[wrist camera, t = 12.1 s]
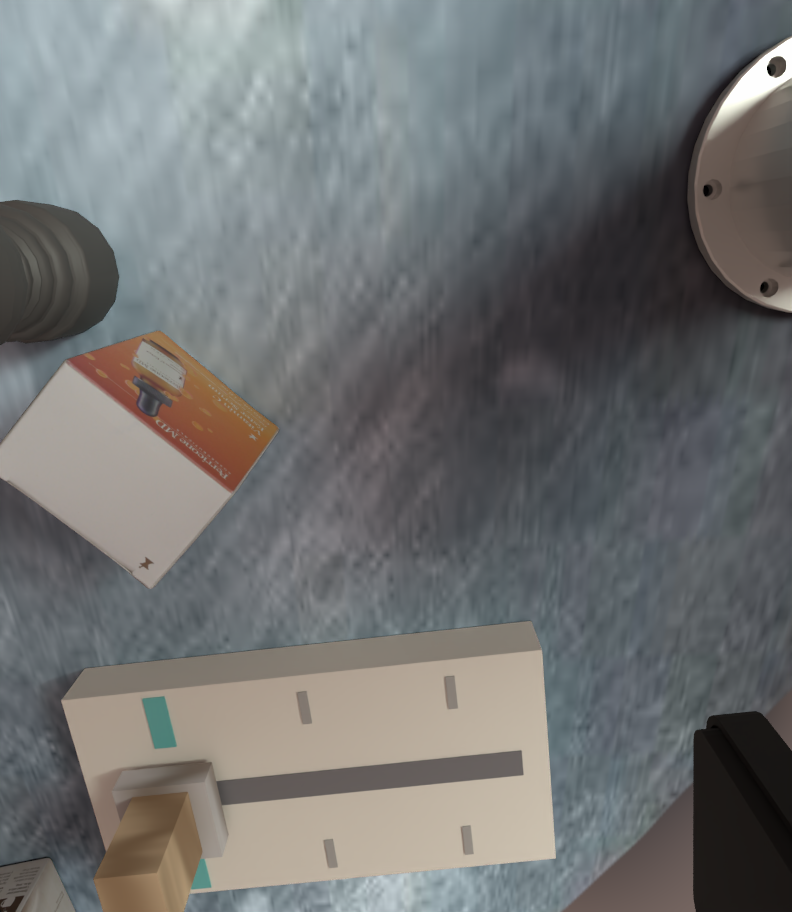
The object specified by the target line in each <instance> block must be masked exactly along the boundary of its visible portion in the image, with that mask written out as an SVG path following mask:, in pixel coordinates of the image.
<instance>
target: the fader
mask: <svg viewBox="0 0 792 912" xmlns="http://www.w3.org/2000/svg"><path fill="white" fill-rule="evenodd" d="M112 794H113V798H114V801H115V805H116V808H117V812H118V815H119V819H120V824H119V826H118V829H117V831H116V833H115V835H114V837H113V839H112V841H111V843H110V845H109V847H108V849H107V852H106V854H105V856H104V858H103V860H102V862H101V864H100V866H99V868H98V870H97V873H96V875H95V877H94V879H93V880H94V883H95V886H96V889H97V893H98V896H99V899H100V902H101V906H102V909H103V912H184V909H185V906H186V903H187V899H188V896H189V893H190V890H191V887H192V884H193V880H194V877H195V874H196V871H197V868H198V865H199V862H200V859H206V858H216V857H223V853H224V850H225V846H226V842H227V839H228V835H229V834H228V830H227V825H226V821H225V817H224V812H223V808H222V804H221V800H220V795H219V791H218V787H217V782H216V778H215V774H214V769H213V765H212V762H207V763H197V764H188V765H178V766H168V767H158V768H148V769H139V770H129V771H122V773H121V775H120V777H119V778H118V780H117V782H116V784H115V786H114V788H113V790H112Z"/></svg>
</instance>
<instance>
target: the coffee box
mask: <svg viewBox="0 0 792 912" xmlns="http://www.w3.org/2000/svg"><path fill="white" fill-rule="evenodd" d="M0 909H1V912H76V911H75V909H74V907H73V905H72V903H71V900H70V898H69V896H68V894H67V892H66V890H65V888H64V886H63V884H62V881H61V879H60V877H59V875H58V873H57V871H56V869H55V867H54V865H53V862H52V860H51V859H49V858H44V859H39V860H34V861H29V862H24V863H19V864H14V865H9V866H4V867H0Z"/></svg>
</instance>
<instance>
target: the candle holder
mask: <svg viewBox="0 0 792 912" xmlns="http://www.w3.org/2000/svg"><path fill="white" fill-rule="evenodd" d="M118 280H119V274H118V270H117V265H116V261H115V256H114V252H113V250H112V248H111V247H110V245H109V244H108V242H107V241H106V239H105V238H104V236H103V235H102V233H101V232H100V230H99V229H98V228H97V227H96V226H95V225H93V224H92V223H91V222H89V221H88V220H87V219H85V218H84V217H83V216H81V215H80V214H79V213H77V212H75V211H71V210H68V209H64V208H61V207H57V206H54V205H49V204H42V203H34V202H27V201H20V200H13V201H5V202H0V345H2V344H3V343H5V342H13V341H19V342H23V343H33V342H42V341H50V340H55V339H59V338H63V337H67V336H70V335H74V334H78V333H82V332H84V331H86V330H87V329H89V328H91V327H92V326H94V325H95V324H97V323H99V322H100V321H102V320H103V319H104V317H105V315H106V314H107V312H108V311H109V309H110V308H111V306H112V305H113V303H114V302H115V298H116V292H117V286H118Z"/></svg>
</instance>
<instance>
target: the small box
mask: <svg viewBox="0 0 792 912" xmlns="http://www.w3.org/2000/svg"><path fill="white" fill-rule="evenodd" d="M278 432H279V428H278V427H277V426H276V425H275V424H273V423H272V422H271V421H269V420H268V419H267V418H265V417H264V416H263V415H261V414H260V413H259V412H258V411H256V410H255V409H254V408H252V407H251V406H250V405H249V404H248V403H246V402H245V401H244V400H243V399H241V398H240V397H239V396H238V395H237V394H235V393H234V392H233V391H232V390H231V389H229V388H228V387H227V386H226V385H225V384H223V383H222V382H221V381H220V380H219V379H218V378H216V377H215V376H214V375H213V374H212V373H211V372H209V371H208V370H207V369H206V368H205V367H203V366H202V365H201V364H200V363H199V362H197V361H196V360H195V359H194V358H193V357H191V356H190V355H189V354H188V353H187V352H185V351H184V350H183V349H182V348H181V347H179V346H178V345H177V344H176V343H175V342H173V341H172V340H171V339H170V338H169V337H168V336H166V335H165V334H164V333H163V332H161V331H154V332H151V333H148V334H145V335H141V336H138V337H135V338H132V339H129V340H126V341H123V342H119V343H116V344H113V345H110V346H107V347H104V348H101V349H98V350H94V351H91V352H88V353H85V354H81V355H78V356H75V357H72V358H69V359H66V360H65V361H64V362H63V363H62V364H61V366H60V367H59V368H58V370H57V371H56V372H55V373H54V375H53V376H52V377H51V378H50V380H49V381H48V382H47V384H46V385H45V386H44V387H43V389H42V390H41V391H40V392H39V394H38V395H37V396H36V398H35V399H34V400H33V401H32V403H31V404H30V405H29V407H28V408H27V409H26V411H25V412H24V413H23V414H22V416H21V417H20V418H19V420H18V421H17V422H16V423H15V425H14V426H13V427H12V429H11V430H10V431H9V432H8V434H7V435H6V436H5V438H4V439H3V440H2V442H1V443H0V478H1V479H3V480H5V481H6V482H8V483H9V484H11V485H12V486H14V487H15V488H16V489H18V490H19V491H21V492H22V493H23V494H25V495H26V496H28V497H29V498H30V499H32V500H33V501H34V502H36V503H37V504H38V505H40V506H41V507H43V508H44V509H45V510H47V511H48V512H49V513H51V514H52V515H54V516H55V517H56V518H58V519H59V520H60V521H62V522H63V523H64V524H66V525H67V526H68V527H70V528H71V529H72V530H74V531H75V532H77V533H78V534H79V535H81V536H82V537H83V538H85V539H86V540H87V541H89V542H90V543H91V544H93V545H94V546H95V547H97V548H98V549H99V550H101V551H102V552H103V553H105V554H106V555H107V556H109V557H110V558H111V559H112V560H114V561H115V562H116V563H118V564H119V565H120V566H121V567H123V568H124V569H125V570H127V571H128V572H129V573H130V574H131V575H132V576H133V577H135V578H136V579H137V580H138V581H140V582H141V583H142V584H143V585H144V586H146V587H147V588H148V589H152V588H153V587H155V585H156V584H157V583H158V582H159V581H160V580H161V579H162V577H163V576H164V575H165V574H166V573H167V572H168V571H169V570H170V568H171V567H172V566H173V565H174V564H175V563H176V562H177V560H178V559H179V558H180V557H181V556H182V555H183V554H184V553H185V551H186V550H187V549H188V548H189V547H190V546H191V545H192V543H193V542H194V541H195V540H196V539H197V538H198V537H199V535H200V534H201V533H202V532H203V531H204V530H205V528H206V527H207V526H208V525H209V524H210V523H211V521H212V520H213V519H214V518H215V517H216V515H217V514H218V513H219V512H220V511H221V509H222V508H223V507H224V506H225V505H226V503H227V502H228V501H229V500H230V499H231V498H232V496H233V495H234V494H235V493H236V491H237V490H238V489H239V487H240V486H241V485H242V483H243V482H244V480H245V479H246V477H247V476H248V474H249V473H250V471H251V470H252V469H253V467H254V466H255V464H256V463H257V462H258V460H259V459H260V457H261V456H262V455H263V453H264V452H265V450H266V449H267V447H268V446H269V445H270V443H271V442H272V440H273V439H274V438H275V436H276V435H277V433H278Z"/></svg>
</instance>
